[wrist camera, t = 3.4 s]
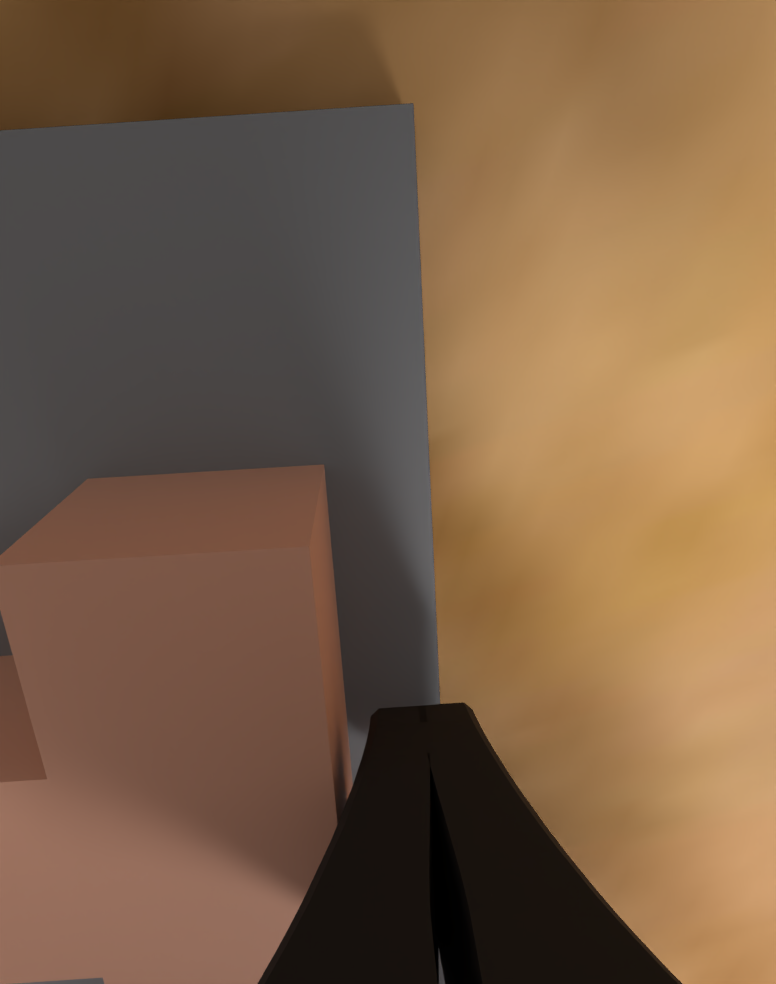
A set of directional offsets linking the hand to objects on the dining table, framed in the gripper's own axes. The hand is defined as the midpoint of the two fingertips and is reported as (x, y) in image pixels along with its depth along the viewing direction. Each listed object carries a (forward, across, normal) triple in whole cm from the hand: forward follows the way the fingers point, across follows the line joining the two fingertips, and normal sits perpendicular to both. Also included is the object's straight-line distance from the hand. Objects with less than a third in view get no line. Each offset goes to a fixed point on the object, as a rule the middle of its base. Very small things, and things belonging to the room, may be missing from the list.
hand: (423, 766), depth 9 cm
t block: (+1, +5, 0) cm, 5 cm away
